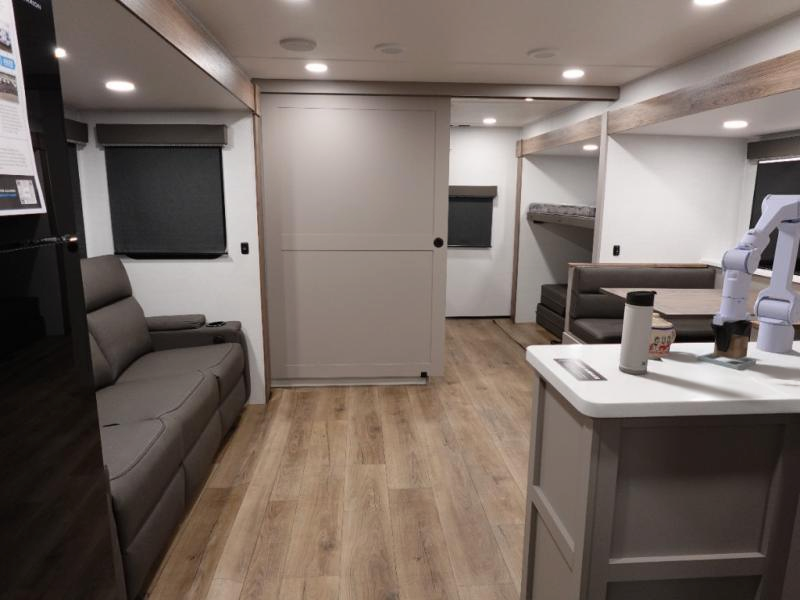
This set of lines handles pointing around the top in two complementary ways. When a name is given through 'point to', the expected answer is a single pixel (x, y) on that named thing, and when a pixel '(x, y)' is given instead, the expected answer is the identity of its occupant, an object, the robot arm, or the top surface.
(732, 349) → the brown wooden cube
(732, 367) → the tray
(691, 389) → the top surface
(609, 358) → the top surface
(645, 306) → the travel mug
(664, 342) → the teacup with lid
